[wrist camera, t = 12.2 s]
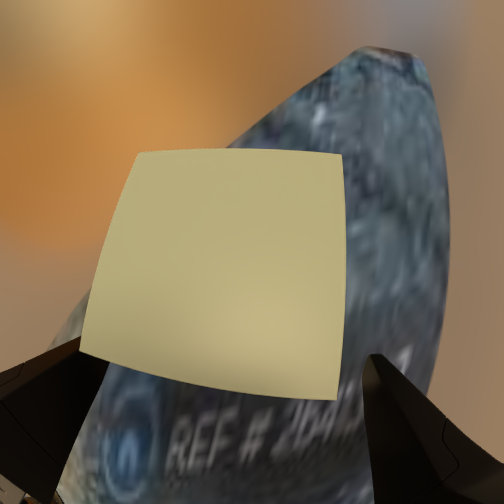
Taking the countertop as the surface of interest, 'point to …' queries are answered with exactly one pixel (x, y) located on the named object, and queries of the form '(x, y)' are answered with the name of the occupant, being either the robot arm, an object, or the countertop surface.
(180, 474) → the countertop surface
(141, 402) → the countertop surface
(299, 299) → the tan rectangular pillar
